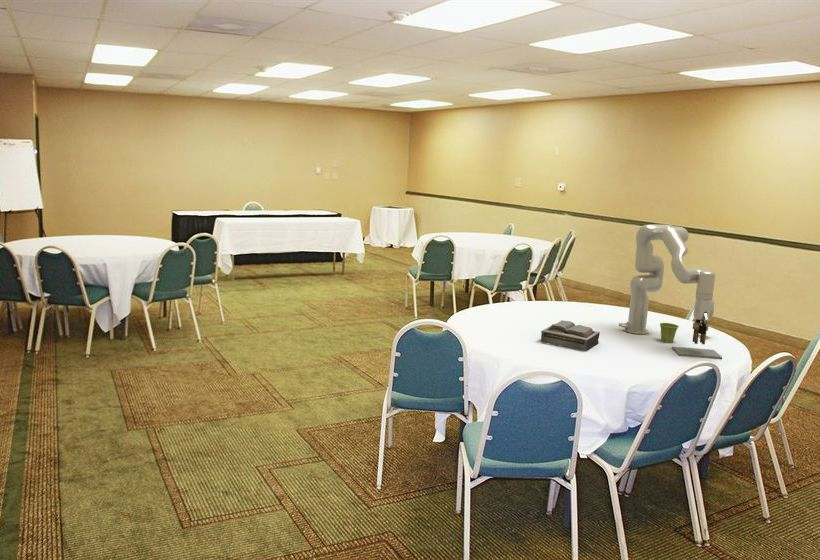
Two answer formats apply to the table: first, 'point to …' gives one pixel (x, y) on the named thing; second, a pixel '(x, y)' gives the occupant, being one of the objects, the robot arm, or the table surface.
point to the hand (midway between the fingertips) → (699, 331)
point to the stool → (696, 333)
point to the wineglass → (710, 313)
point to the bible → (570, 336)
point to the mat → (696, 352)
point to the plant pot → (668, 331)
